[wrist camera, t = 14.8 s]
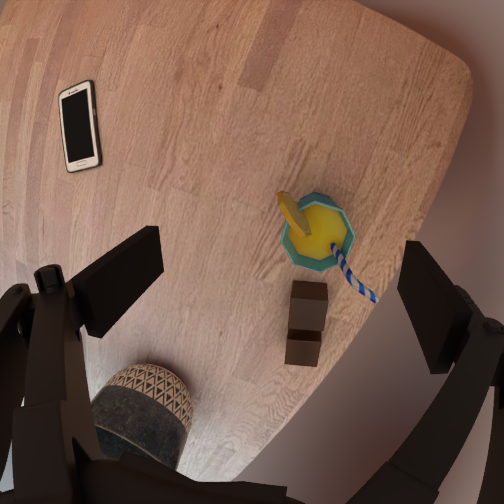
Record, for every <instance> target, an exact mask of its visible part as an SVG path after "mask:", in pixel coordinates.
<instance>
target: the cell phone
mask: <svg viewBox="0 0 504 504" xmlns="http://www.w3.org/2000/svg"><path fill="white" fill-rule="evenodd" d="M58 101H59V114H60V117H61V118H60V125H61V134H62V142H63V150H64V157H65V163H66V168H67V171H68V173H75V172H79V171H83V170H87V169H91V168H95V167H98V166H100V165H101V153H100V146H99V138H98V130H97V122H96V113H95V99H94V87H93V82H92V80H85V81H83V82H80V83H78V84H76V85H74V86H71V87H69V88H67V89H65V90H63V91H61V92H60V93H59V96H58Z"/></svg>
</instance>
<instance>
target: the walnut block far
mask: <svg viewBox="0 0 504 504" xmlns="http://www.w3.org/2000/svg"><path fill="white" fill-rule="evenodd" d="M320 347H321V331H314V330H302V329H291V328H288V335H287V343H286V353H285V363H284V364H289V365H299V366H311V367H317V363H318V358H319V353H320Z"/></svg>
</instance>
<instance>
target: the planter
mask: <svg viewBox="0 0 504 504" xmlns="http://www.w3.org/2000/svg"><path fill="white" fill-rule="evenodd" d="M90 403H91V408H92V414H93V419H94V424H95V428H96V433H97V437H98V442H99V446H100V450H101V454H102V457H103V459H107V458H112V459H120V457H121V455H122V454H123V452H124V450H126V451H129V452H132V453H134V454H137V455H140V456H143V457H146V458H149V459H152V460H155V461H159V462H161V463H162V464H164V465H166V466H168V467H169V468H171V469H173V470H175V471H177V468H178V465H179V461H180V458H181V455H182V453H183V450H184V447H185V444H186V441H187V438H188V435H189V432H190V428H191V425H192V419H193V403H192V399H191V396H190V393H189V391H188V390H187V388H186V386H185V385H184V383H183V382H182V381H181V380H180V379H179V378H178V377H177V376H176V375H175V374H174V373H172V372H171V371H169V370H167V369H165V368H163V367H160V366H157V365H153V364H135V365H131V366H128V367H126V368H124V369H122V370H121V371H119V372H118V373H116V374H115V375H114V376H113V377H112V378H111V379H110V380H109V381H108V382H107V383H106V384H105V385H104V386H103V388H102V389H101V390H100V391H99V392H98V393H97V395H96V396H95V397H94V398H93V399H92V401H91V402H90Z"/></svg>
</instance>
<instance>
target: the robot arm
mask: <svg viewBox="0 0 504 504" xmlns="http://www.w3.org/2000/svg"><path fill="white" fill-rule="evenodd" d="M163 272H164V267H163V259H162V252H161V244H160V235H159V226H145V227H144V228H142V229H141V230H139V231H138V232H136V233H135V234H133V235H132V236H130V237H129V238H128V239H126V240H125V241H123V242H122V243H120V244H119V245H117V246H116V247H114V248H113V249H112V250H110V251H109V252H107V253H106V254H104V255H103V256H102V257H100V258H99V259H97V260H96V261H95V262H93V263H92V264H90V265H89V266H88V267H86V268H85V269H84V270H82V271H81V272H79V273H78V274H77V275H75V276H74V277H73V278H71V279H70V280H69V281H68V282H66V283H65V281H64V277H63V273H62V269H61V266H60V265H58V264H52V265H47V266H44V267H41V268H39V269H38V270H37V271H35V273H34V277H35V280H36V284H37V287H38V290H39V293H35V294H31V292H30V289H29V286H28V284H25V283H21V284H15V285H13V286H12V287H11V288H9V289H8V290H7V291H6V292H5V293H4V295H3V296H2V297H1V299H0V481H1V478H2V475H3V472H4V469H5V466H6V462H7V458H8V453H9V449H10V444H11V441H12V464H13V482H14V489H12V490H8V491H5V492H1V491H0V504H305V503H303V502H301V501H298V500H296V499H293V498H290V497H287V496H286V491H287V487H286V486H275V485H267V484H259V483H252V482H245V481H238V482H198V481H194V480H192V479H190V478H188V477H186V476H184V475H182V474H180V473H179V472H177V471H175V470H173V469H171V468H169V467H168V466H166V465H164V464H162V463H161V462H159V461H155V460H152V459H149V458H146V457H143V456H140V455H137V454H134V453H132V452H129V451H126V450H124V452H123V454H122V455H121V457H120V459H112V458H107V459H103V457H102V454H101V450H100V446H99V442H98V437H97V433H96V428H95V424H94V419H93V414H92V408H91V403H90V397H89V391H88V384H87V377H86V370H85V362H84V353H83V342H82V335H81V332H80V328H81V327H82V326H83V325H84V324H85V327H86V330H87V333H88V335H90V336H93V337H97V338H101V339H102V337H103V336H104V335H105V334H106V333H107V332H108V331H109V330H110V329H111V327H112V326H113V325H114V324H115V323H116V322H117V321H118V320H119V319H120V318H121V316H122V315H123V314H124V313H125V312H126V311H127V310H128V309H129V308H130V307H131V306H132V305H133V304H134V302H135V301H136V300H137V299H138V298H139V297H140V296H141V295H142V294H143V293H144V292H145V291H146V290H147V289H148V288H149V287H150V285H151V284H152V283H153V282H154V281H155V280H156V279H157V278H158V277H159V276H160V275H161V274H162V273H163ZM397 290H398V292H399V294H400V296H401V299H402V301H403V303H404V306H405V308H406V310H407V313H408V315H409V318H410V320H411V322H412V325H413V327H414V330H415V332H416V335H417V338H418V340H419V343H420V345H421V348H422V351H423V353H424V356H425V359H426V362H427V365H428V367H429V370H430V373H431V374H444V373H448V372H449V370H450V367H451V365H452V363H453V361H454V363H455V366H454V368H453V369H452V371H451V373H450V375H449V376H448V378H447V380H446V381H445V383H444V385H443V386H442V388H441V389H440V391H439V393H438V394H437V396H436V397H435V399H434V401H433V402H432V403H431V405H430V406H429V408H428V409H427V411H426V412H425V414H424V415H423V417H422V418H421V420H420V421H419V422H418V424H417V425H416V426H415V428H414V429H413V431H412V432H411V433H410V435H409V436H408V437H407V438H406V440H405V441H404V442H403V444H402V445H401V446H400V447H399V449H398V450H397V451H396V452H395V454H394V455H393V456H392V457H391V458H390V459H389V461H386V462H385V463H384V464H383V465H382V466H381V467H380V469H379V470H378V471H377V472H376V473H375V474H374V475H373V476H372V477H371V478H370V479H369V480H368V481H367V483H366V484H365V485H364V486H363V487H362V488H361V489H360V490H359V491H358V492H357V493H356V494H355V495H354V496H353V497H352V498H351V499H350V500H349V501H348V502H347V503H346V504H433V503H434V502H435V500H436V498H437V497H438V494H439V491H438V488H439V487H440V485H441V483H442V482H443V480H444V478H445V477H446V475H447V474H448V472H449V470H450V468H451V467H452V465H453V463H454V462H455V460H456V458H457V456H458V454H459V453H460V451H461V449H462V447H463V445H464V443H465V441H466V439H467V437H468V435H469V433H470V431H471V429H472V427H473V425H474V423H475V420H476V418H477V416H478V413H479V412H480V409H481V407H482V404H483V402H484V400H485V397H486V395H487V392H488V390H489V387H490V386H494V387H495V391H494V407H493V419H492V429H491V436H490V443H489V450H488V456H487V461H486V467H485V472H484V476H483V481H482V485H481V489H480V493H479V497H478V501H477V504H504V325H503V324H501V323H500V322H499V321H497V320H495V319H492V318H488V317H484V315H483V314H482V312H481V311H480V309H479V308H478V307H477V305H476V304H474V301H473V300H472V299H471V297H470V296H469V294H468V293H467V292H466V291H465V290H464V289H462V288H461V287H460V286H458V285H453V283H452V282H451V280H450V279H449V278H448V277H447V275H446V274H445V273H444V271H443V270H442V269H441V268H440V266H439V265H438V264H437V262H436V261H435V260H434V259H433V257H432V256H431V255H430V254H429V252H428V251H427V250H426V249H425V247H424V246H423V245H422V244H421V243H420V242H419V241H408V240H406V245H405V251H404V257H403V262H402V267H401V272H400V277H399V282H398V286H397ZM18 330H19V331H18ZM19 332H20V333H19ZM23 398H24V406H22V407H21V404H22V401H23Z"/></svg>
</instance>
